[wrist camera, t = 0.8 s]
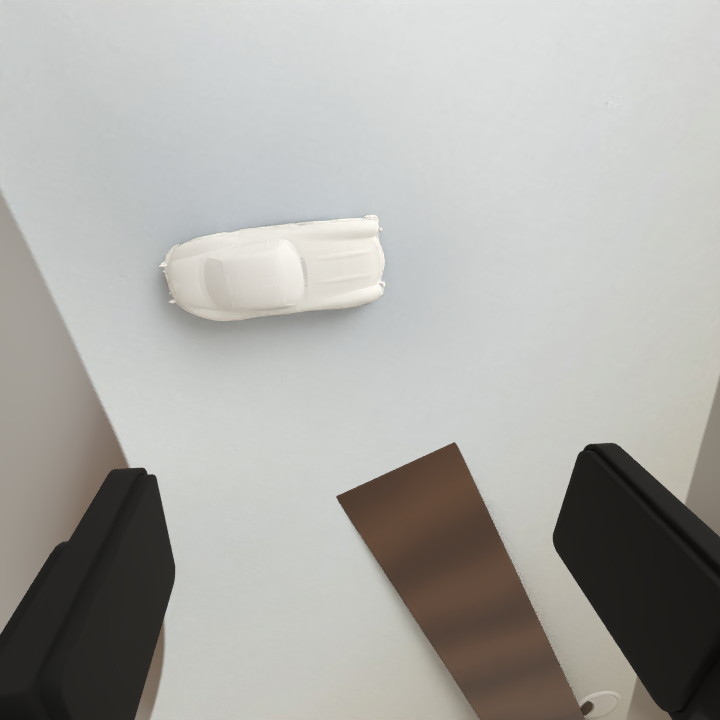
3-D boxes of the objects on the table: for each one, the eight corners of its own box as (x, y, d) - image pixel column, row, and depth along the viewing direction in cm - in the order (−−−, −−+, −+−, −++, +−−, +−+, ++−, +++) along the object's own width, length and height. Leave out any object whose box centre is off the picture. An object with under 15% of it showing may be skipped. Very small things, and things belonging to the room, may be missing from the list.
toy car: (383, 294, 26) (394, 312, 23) (182, 318, 25) (166, 341, 22) (378, 210, 24) (389, 218, 21) (158, 234, 23) (136, 246, 20)
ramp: (332, 477, 34) (337, 530, 29) (446, 424, 33) (471, 469, 29) (518, 754, 58) (537, 808, 54) (587, 727, 58) (613, 779, 53)
